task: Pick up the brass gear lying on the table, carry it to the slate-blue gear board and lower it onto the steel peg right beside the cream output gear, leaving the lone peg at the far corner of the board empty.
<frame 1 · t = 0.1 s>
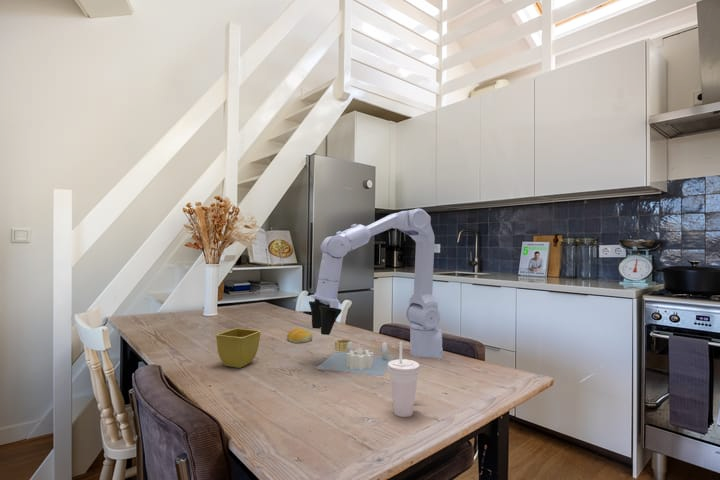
hand: (320, 331, 99), 11 cm above the table, tool pointing down, fingers open, 7 cm apart
output gear: (359, 365, 99), resting on gear board
brass gear: (343, 352, 116), on the table
flower pot: (238, 365, 104), on the table
smoothie: (403, 413, 74), on the table
gear board: (357, 367, 102), on the table
bread roll: (299, 341, 131), on the table
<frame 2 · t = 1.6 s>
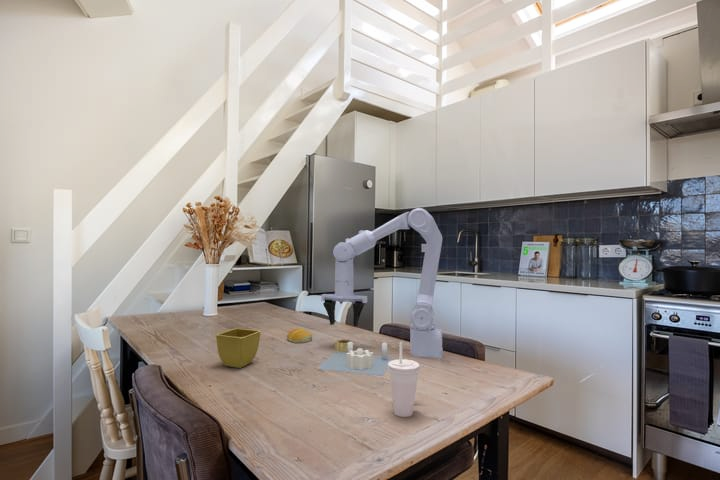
hand: (343, 325, 116), 9 cm above the table, tool pointing down, fingers open, 7 cm apart
nothing on the table moved.
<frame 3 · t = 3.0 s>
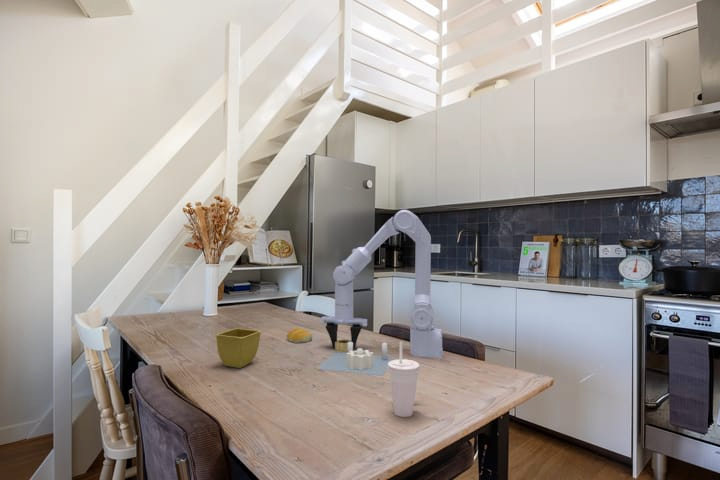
hand: (343, 348, 116), 1 cm above the table, tool pointing down, fingers closed on brass gear, 5 cm apart
brass gear: (343, 352, 116), on the table, touching gripper
everything else where it was.
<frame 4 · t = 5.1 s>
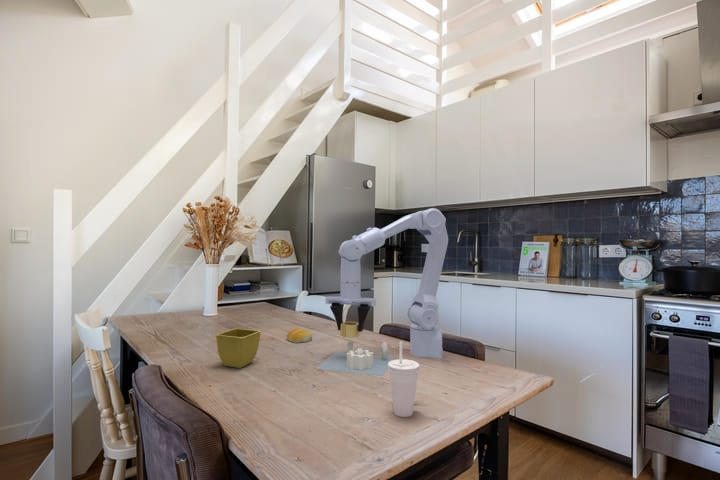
hand: (350, 330, 106), 9 cm above the table, tool pointing down, fingers closed on brass gear, 5 cm apart
brass gear: (350, 335, 106), point 8 cm above the table, touching gripper
everything else where it was.
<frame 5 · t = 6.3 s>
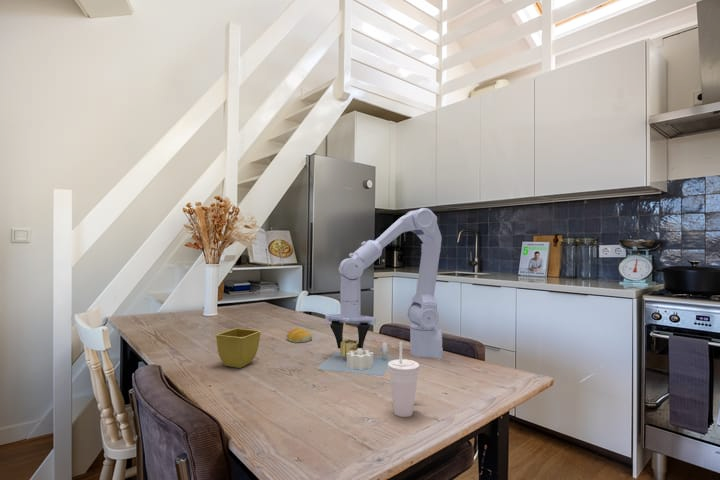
hand: (350, 348, 106), 4 cm above the table, tool pointing down, fingers closed on brass gear, 5 cm apart
brass gear: (350, 353, 106), point 2 cm above the table, touching gripper
everything else where it was.
when the fingers open (4 cm above the table, at t = 7.2 s): brass gear drops 1 cm, resting on gear board.
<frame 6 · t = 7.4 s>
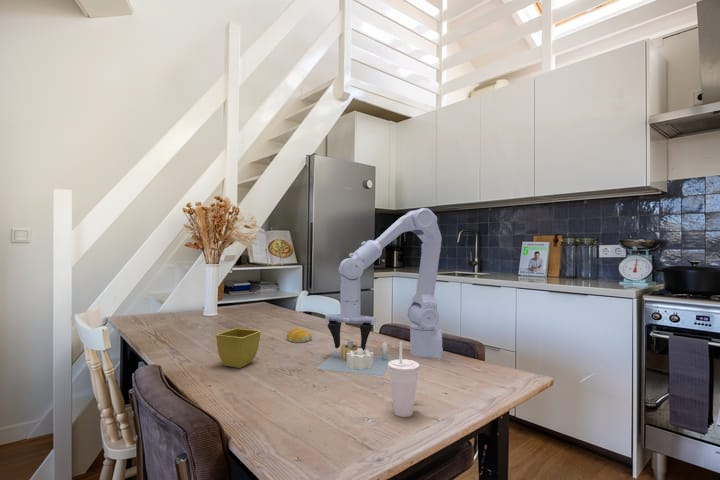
hand: (350, 348, 106), 4 cm above the table, tool pointing down, fingers open, 7 cm apart
brass gear: (350, 358, 106), point 1 cm above the table, touching gear board
everything else where it was.
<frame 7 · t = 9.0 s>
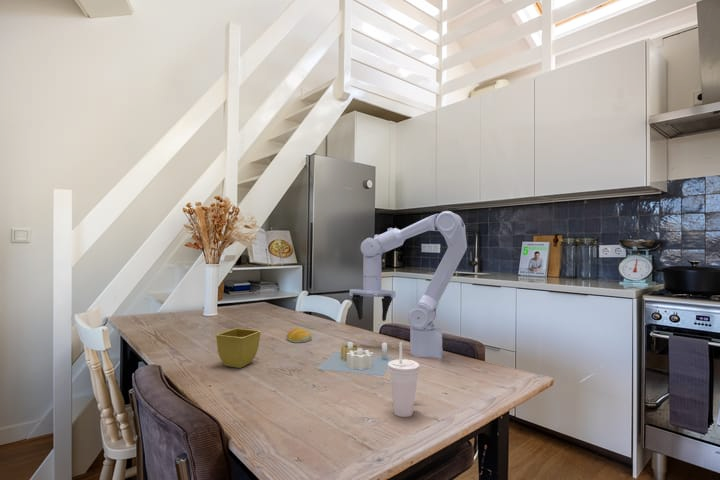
hand: (372, 319, 118), 10 cm above the table, tool pointing down, fingers open, 7 cm apart
nothing on the table moved.
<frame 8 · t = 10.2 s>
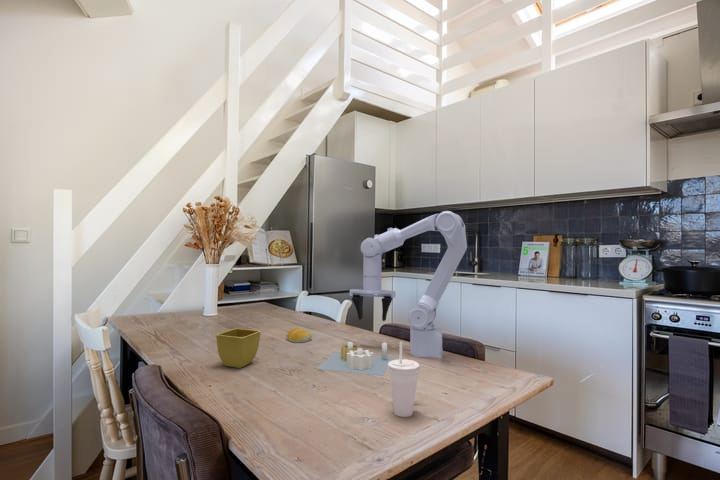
hand: (372, 319, 118), 10 cm above the table, tool pointing down, fingers open, 7 cm apart
nothing on the table moved.
at the end: brass gear 0.1 cm from the target spot, point 1.2 cm above the table; the gripper is holding nothing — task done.
